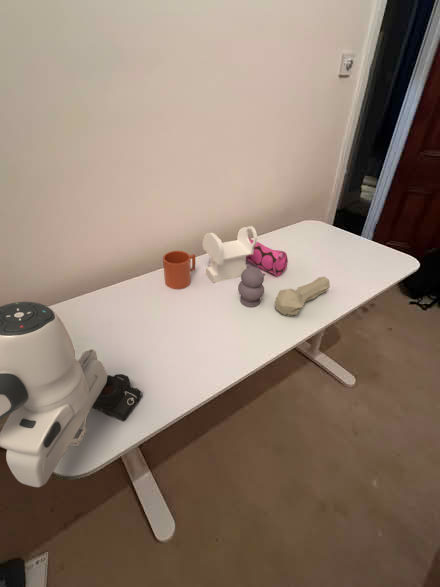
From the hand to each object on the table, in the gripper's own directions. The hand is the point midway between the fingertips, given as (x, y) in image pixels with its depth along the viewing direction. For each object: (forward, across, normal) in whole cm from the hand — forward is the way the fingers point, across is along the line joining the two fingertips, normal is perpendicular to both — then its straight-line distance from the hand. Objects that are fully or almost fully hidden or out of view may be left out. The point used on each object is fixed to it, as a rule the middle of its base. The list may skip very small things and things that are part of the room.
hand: (78, 438), depth 55 cm
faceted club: (+5, -57, +43) cm, 71 cm away
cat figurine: (+5, -53, +25) cm, 59 cm away
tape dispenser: (+5, -66, +16) cm, 68 cm away
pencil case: (+5, -76, +26) cm, 81 cm away
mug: (+5, -59, +1) cm, 59 cm away
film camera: (+4, -11, 0) cm, 12 cm away
